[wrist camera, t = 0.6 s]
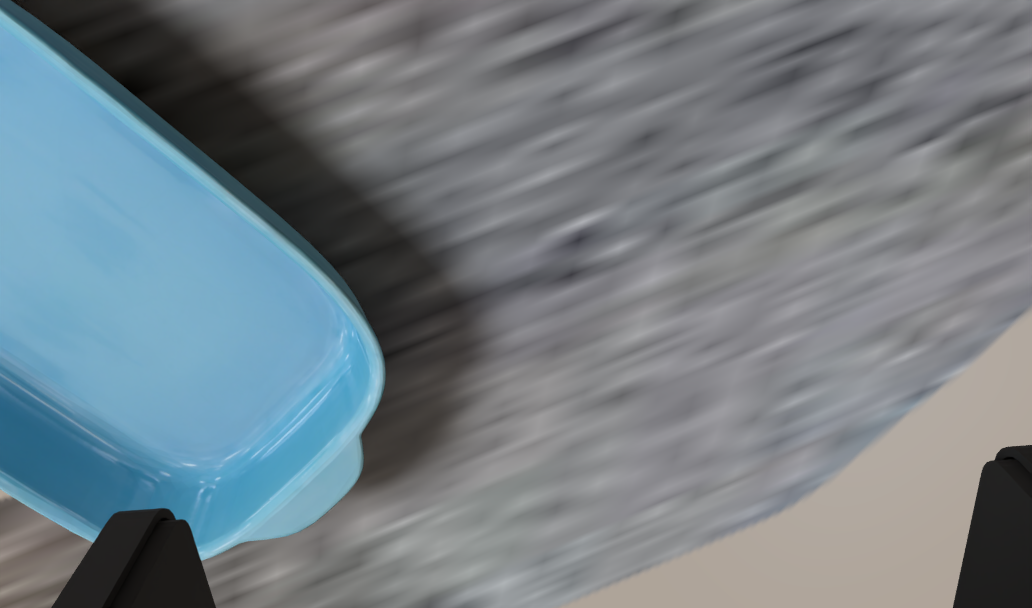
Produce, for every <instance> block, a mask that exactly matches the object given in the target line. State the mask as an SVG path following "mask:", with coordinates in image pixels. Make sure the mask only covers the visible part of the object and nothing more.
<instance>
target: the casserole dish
mask: <svg viewBox="0 0 1032 608" xmlns="http://www.w3.org/2000/svg"><path fill="white" fill-rule="evenodd" d="M385 376H386V369H385V361H384V357H383V353H382V350H381V347H380V344H379V341H378V338H377V337H376V335H375V333H374V331H373V329H372V327H371V325H370V324H369V322H368V320H367V318H366V316H365V314H364V312H363V310H362V308H361V306H360V304H359V302H358V301H357V299H356V297H355V295H354V294H353V292H352V291H351V289H350V288H349V287H348V285H347V284H346V282H345V281H344V280H343V278H342V277H341V276H340V275H339V274H338V272H337V271H336V270H335V269H334V268H333V267H332V265H331V264H330V263H329V262H328V261H327V260H326V259H325V258H324V257H323V256H322V255H321V254H320V253H319V252H318V251H317V250H316V249H315V248H314V247H313V246H312V245H311V244H310V243H309V242H308V241H307V240H306V239H305V238H304V237H302V236H301V235H300V234H299V233H298V232H297V231H296V230H295V229H294V228H292V227H291V226H290V225H289V224H288V223H287V222H286V221H285V220H283V219H282V218H281V217H280V216H279V215H278V214H277V213H275V212H274V211H273V210H272V209H271V208H269V207H268V206H267V205H266V204H265V203H263V202H262V201H261V200H260V199H259V198H258V197H256V196H255V195H254V194H253V193H252V192H250V191H249V190H248V189H247V188H246V187H244V186H243V185H242V184H241V183H240V182H239V181H237V180H236V179H235V178H234V177H233V176H231V175H230V174H229V173H228V172H227V171H225V170H224V169H223V168H222V167H221V166H219V165H218V164H217V163H216V162H214V161H213V160H212V159H211V158H210V157H208V156H207V155H206V154H205V153H204V152H202V151H201V150H200V149H199V148H198V147H196V146H195V145H194V144H193V143H191V142H190V141H189V140H188V139H187V138H185V137H184V136H183V135H182V134H181V133H179V132H178V131H177V130H176V129H174V128H173V127H172V126H171V125H170V124H168V123H167V122H166V121H165V120H164V119H162V118H161V117H160V116H159V115H158V114H156V113H155V112H154V111H153V110H151V109H150V108H149V107H148V106H147V105H145V104H144V103H143V102H142V101H141V100H139V99H138V98H137V97H136V96H134V95H133V94H132V93H131V92H130V91H128V90H127V89H126V88H125V87H124V86H122V85H121V84H120V83H119V82H118V81H116V80H115V79H114V78H113V77H111V76H110V75H109V74H108V73H107V72H105V71H104V70H103V69H102V68H101V67H99V66H98V65H97V64H96V63H94V62H93V61H92V60H91V59H89V58H88V57H87V56H86V55H84V54H83V53H82V52H80V51H79V50H78V49H77V48H75V47H74V46H73V45H71V44H70V43H69V42H68V41H66V40H65V39H64V38H62V37H61V36H60V35H58V34H57V33H56V32H54V31H53V30H52V29H50V28H49V27H48V26H46V25H45V24H44V23H42V22H41V21H40V20H38V19H37V18H36V17H34V16H33V15H31V14H30V13H28V12H27V11H25V10H24V9H23V8H21V7H20V6H18V5H17V4H15V3H14V2H12V1H11V0H0V489H1V490H2V491H4V492H5V493H7V494H9V495H10V496H12V497H13V498H15V499H17V500H18V501H20V502H22V503H23V504H25V505H27V506H28V507H30V508H32V509H33V510H35V511H37V512H38V513H40V514H42V515H43V516H45V517H47V518H49V519H50V520H52V521H54V522H56V523H57V524H59V525H61V526H63V527H64V528H66V529H68V530H70V531H71V532H73V533H75V534H77V535H79V536H81V537H83V538H85V539H87V540H89V541H91V542H93V543H94V541H95V540H96V538H97V537H98V535H99V533H100V532H101V530H102V529H103V527H104V526H105V524H106V523H107V521H108V520H109V519H110V517H111V516H112V515H113V514H114V513H117V512H119V511H130V510H144V509H157V508H166V509H169V510H170V511H171V512H172V513H173V514H174V516H175V518H176V520H179V519H183V520H186V521H187V522H188V523H189V526H190V528H191V531H192V534H193V537H194V540H195V543H196V547H197V550H198V553H199V556H200V559H201V560H205V559H208V558H211V557H213V556H216V555H218V554H220V553H222V552H224V551H227V550H229V549H231V548H232V547H234V546H236V545H238V544H240V543H243V542H246V541H255V540H265V539H273V538H279V537H285V536H288V535H291V534H294V533H297V532H300V531H302V530H303V529H305V528H307V527H309V526H310V525H312V524H313V523H315V522H316V521H317V520H318V519H320V518H321V517H322V516H323V515H324V514H326V513H327V512H328V511H329V510H330V509H331V508H332V507H333V506H335V505H336V504H337V503H338V502H339V501H340V500H341V499H342V498H343V497H344V496H345V495H346V494H347V493H348V492H349V491H350V489H351V488H352V487H353V486H354V484H355V483H356V482H357V480H358V479H359V477H360V474H361V472H362V469H363V464H364V453H363V444H362V439H361V435H362V432H363V431H364V429H365V428H366V426H367V424H368V423H369V421H370V420H371V418H372V416H373V415H374V413H375V411H376V409H377V407H378V405H379V403H380V400H381V398H382V395H383V391H384V387H385Z"/></svg>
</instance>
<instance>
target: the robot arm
mask: <svg viewBox="0 0 1032 608" xmlns="http://www.w3.org/2000/svg"><path fill="white" fill-rule="evenodd" d="M52 608H216V607H215V603H214V600H213V597H212V594H211V591H210V588H209V585H208V581H207V578H206V575H205V572H204V569H203V566H202V562H201V559H200V556H199V553H198V550H197V547H196V543H195V540H194V537H193V534H192V531H191V528H190V526H189V523H188V522H187V521H186V520H183V519H179V520H176V518H175V516H174V514H173V513H172V512H171V511H170V510H169V509H166V508H157V509H144V510H130V511H119V512H117V513H114V514H113V515H112V516H111V517H110V519H109V520H108V521H107V523H106V524H105V526H104V527H103V529H102V530H101V532H100V533H99V535H98V537H97V538H96V540H95V541H94V543H93V544H92V546H91V547H90V549H89V550H88V552H87V553H86V555H85V557H84V558H83V560H82V561H81V563H80V564H79V566H78V567H77V569H76V570H75V572H74V574H73V575H72V577H71V578H70V580H69V581H68V583H67V584H66V586H65V587H64V589H63V591H62V592H61V594H60V595H59V597H58V598H57V600H56V601H55V603H54V604H53V606H52ZM953 608H1032V445H1026V446H1012V447H1006V448H1002V449H1001V450H1000V451H999V452H998V453H997V455H996V458H995V460H994V461H989V462H987V463H986V464H985V465H984V467H983V470H982V473H981V478H980V482H979V487H978V492H977V497H976V501H975V506H974V511H973V515H972V520H971V525H970V530H969V534H968V539H967V544H966V548H965V553H964V558H963V562H962V567H961V572H960V577H959V581H958V586H957V591H956V595H955V600H954V605H953Z"/></svg>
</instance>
